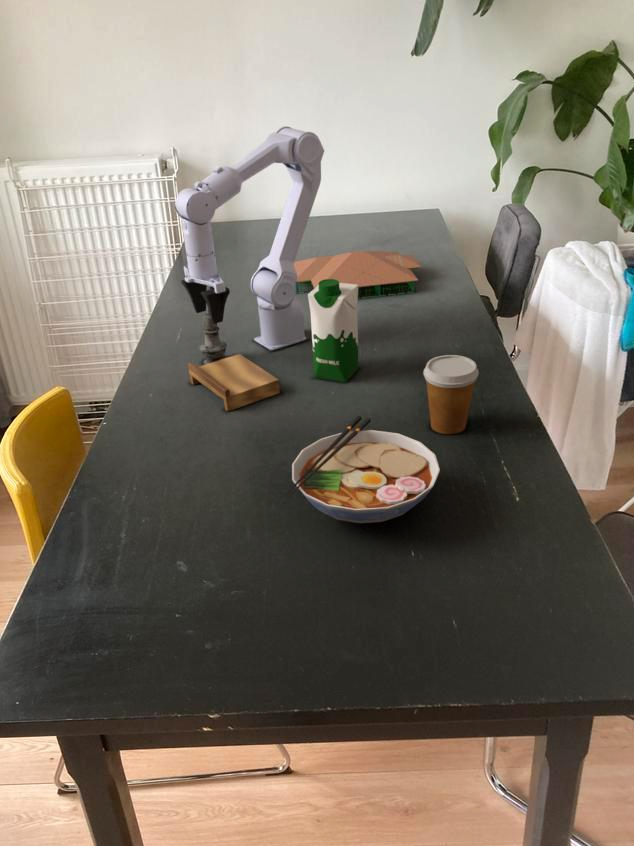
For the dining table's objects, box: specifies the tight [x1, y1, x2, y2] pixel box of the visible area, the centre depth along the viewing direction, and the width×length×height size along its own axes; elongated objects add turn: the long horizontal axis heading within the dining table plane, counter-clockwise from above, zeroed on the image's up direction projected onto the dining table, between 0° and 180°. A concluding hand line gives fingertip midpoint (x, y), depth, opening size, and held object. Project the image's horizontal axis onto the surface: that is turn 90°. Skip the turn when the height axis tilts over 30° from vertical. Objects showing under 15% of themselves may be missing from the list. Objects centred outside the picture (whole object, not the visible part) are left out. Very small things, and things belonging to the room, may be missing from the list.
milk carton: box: [307, 279, 360, 383], centre depth 162 cm, size 9×9×20 cm
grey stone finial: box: [199, 308, 228, 365], centre depth 172 cm, size 6×6×12 cm
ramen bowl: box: [284, 415, 441, 524], centre depth 126 cm, size 25×23×8 cm
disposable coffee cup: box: [423, 354, 480, 435], centre depth 143 cm, size 10×10×12 cm
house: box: [294, 250, 422, 299], centre depth 207 cm, size 23×33×8 cm
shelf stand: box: [187, 353, 281, 412], centre depth 163 cm, size 12×16×4 cm
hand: (209, 316), depth 170 cm, fingers open, 7 cm apart
